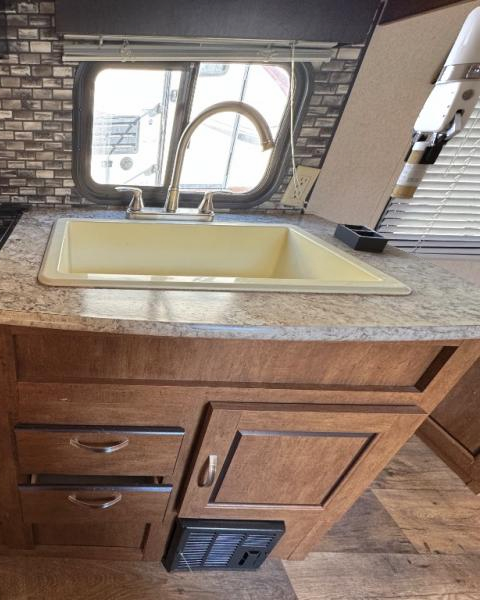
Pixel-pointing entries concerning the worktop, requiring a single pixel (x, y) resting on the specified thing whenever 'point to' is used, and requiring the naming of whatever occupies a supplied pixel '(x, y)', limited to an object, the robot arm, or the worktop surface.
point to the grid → (360, 237)
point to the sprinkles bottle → (411, 173)
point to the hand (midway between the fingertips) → (418, 162)
